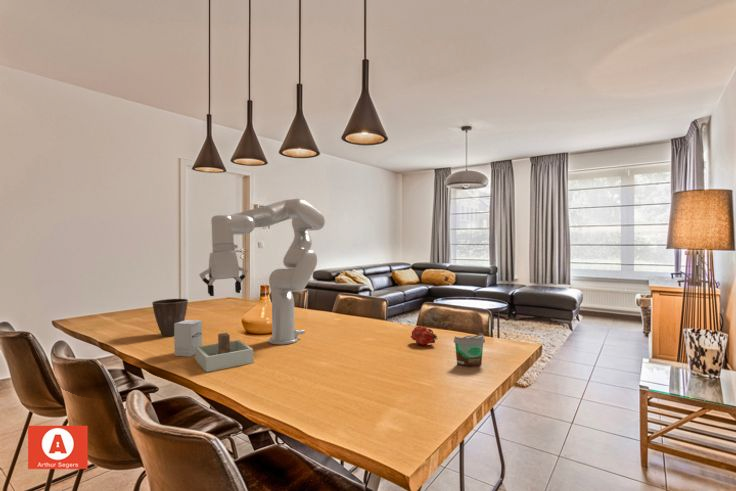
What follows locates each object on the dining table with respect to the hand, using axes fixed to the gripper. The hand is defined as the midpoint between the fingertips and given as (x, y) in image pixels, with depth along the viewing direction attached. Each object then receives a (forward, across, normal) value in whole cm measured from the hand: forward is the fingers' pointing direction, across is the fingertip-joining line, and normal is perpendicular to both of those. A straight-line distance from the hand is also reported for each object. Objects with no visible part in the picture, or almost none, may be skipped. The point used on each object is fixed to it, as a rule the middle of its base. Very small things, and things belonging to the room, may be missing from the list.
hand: (224, 294), depth 144 cm
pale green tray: (+24, +2, +4) cm, 24 cm away
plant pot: (+24, +9, -53) cm, 59 cm away
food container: (+25, -64, +64) cm, 94 cm away
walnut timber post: (+23, +3, +4) cm, 23 cm away
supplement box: (+24, +10, -15) cm, 30 cm away
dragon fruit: (+26, -70, +35) cm, 82 cm away
